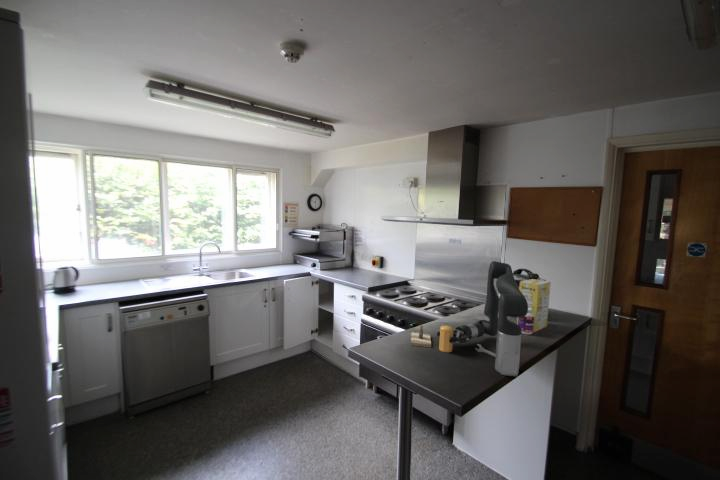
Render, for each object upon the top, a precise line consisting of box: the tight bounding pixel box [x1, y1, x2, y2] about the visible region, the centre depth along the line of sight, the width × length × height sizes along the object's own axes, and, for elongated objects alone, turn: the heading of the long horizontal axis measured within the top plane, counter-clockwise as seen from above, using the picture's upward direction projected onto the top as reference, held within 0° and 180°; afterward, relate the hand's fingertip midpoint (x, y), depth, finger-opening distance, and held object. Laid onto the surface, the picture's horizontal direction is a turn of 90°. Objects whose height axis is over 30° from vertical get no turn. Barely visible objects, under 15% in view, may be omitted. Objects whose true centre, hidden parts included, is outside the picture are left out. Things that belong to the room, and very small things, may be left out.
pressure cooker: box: [512, 268, 547, 288], centre depth 219 cm, size 30×28×32 cm
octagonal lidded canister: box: [438, 325, 454, 353], centre depth 154 cm, size 6×6×11 cm
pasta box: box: [516, 279, 551, 333], centre depth 193 cm, size 18×10×28 cm, turn 129°
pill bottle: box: [518, 308, 534, 336], centre depth 182 cm, size 8×8×14 cm
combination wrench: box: [474, 343, 496, 358], centre depth 148 cm, size 4×1×20 cm
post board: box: [410, 324, 432, 348], centre depth 164 cm, size 14×10×8 cm
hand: (443, 337), depth 153 cm, fingers open, 8 cm apart
